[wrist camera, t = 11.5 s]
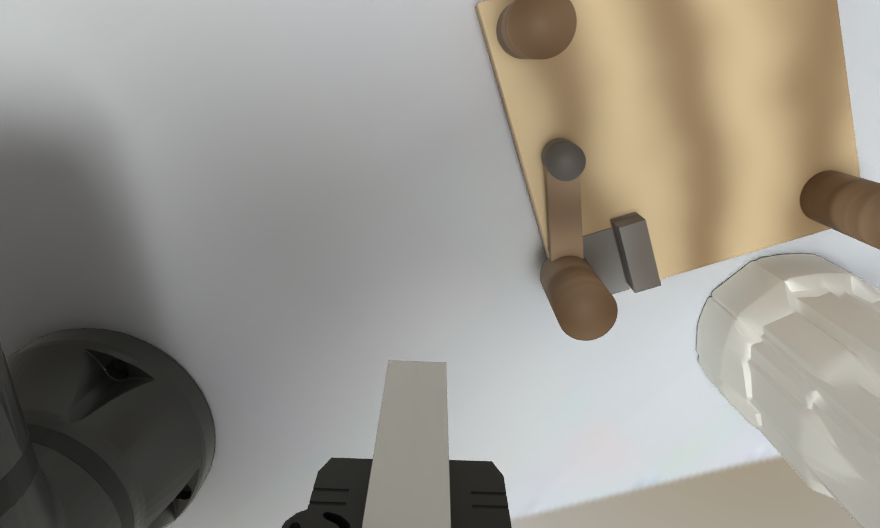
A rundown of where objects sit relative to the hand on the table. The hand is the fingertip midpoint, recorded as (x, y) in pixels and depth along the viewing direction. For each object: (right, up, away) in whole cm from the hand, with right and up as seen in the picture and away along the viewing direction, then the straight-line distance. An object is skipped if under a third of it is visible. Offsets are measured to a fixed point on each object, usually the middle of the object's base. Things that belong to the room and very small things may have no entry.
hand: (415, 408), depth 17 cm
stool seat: (+14, +13, +21) cm, 28 cm away
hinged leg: (+8, +6, +20) cm, 23 cm away
